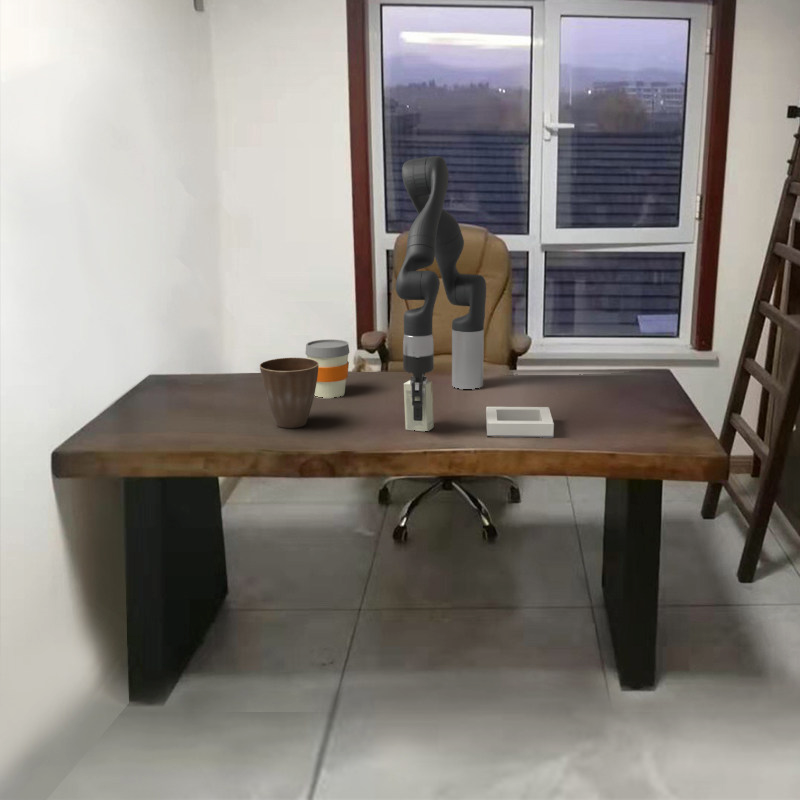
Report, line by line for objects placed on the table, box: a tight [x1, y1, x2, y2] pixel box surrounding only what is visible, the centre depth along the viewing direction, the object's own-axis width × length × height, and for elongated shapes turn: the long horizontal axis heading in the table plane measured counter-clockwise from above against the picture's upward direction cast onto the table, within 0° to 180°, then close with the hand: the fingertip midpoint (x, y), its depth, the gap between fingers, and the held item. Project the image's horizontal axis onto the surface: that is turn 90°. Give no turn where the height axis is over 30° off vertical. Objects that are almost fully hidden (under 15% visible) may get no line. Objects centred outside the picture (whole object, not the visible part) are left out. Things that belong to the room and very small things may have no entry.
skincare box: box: [403, 379, 435, 432], centre depth 226 cm, size 6×4×12 cm
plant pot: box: [259, 357, 319, 429], centre depth 231 cm, size 15×15×16 cm
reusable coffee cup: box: [305, 339, 350, 399], centre depth 260 cm, size 13×13×15 cm
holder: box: [485, 406, 555, 439], centre depth 226 cm, size 15×16×4 cm
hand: (418, 416), depth 227 cm, fingers open, 7 cm apart
